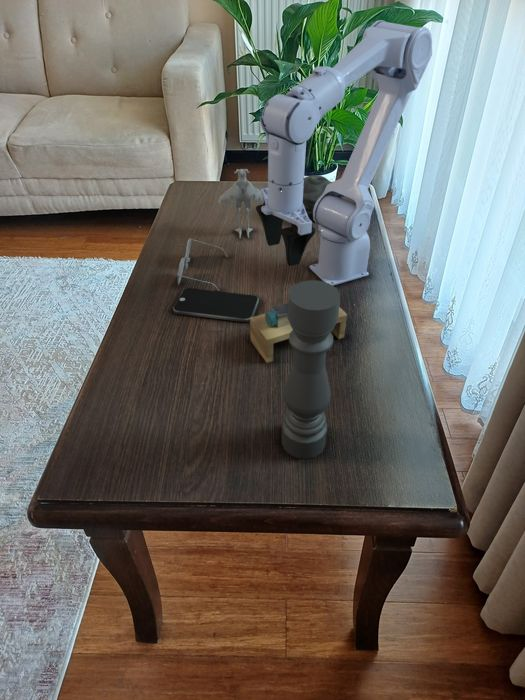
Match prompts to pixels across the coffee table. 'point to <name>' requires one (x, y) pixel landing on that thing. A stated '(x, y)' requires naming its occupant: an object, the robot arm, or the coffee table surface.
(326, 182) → the decorative stone
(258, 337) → the shelf
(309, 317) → the candle holder
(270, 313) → the grey and teal bar
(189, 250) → the sunglasses
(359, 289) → the coffee table surface
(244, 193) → the figurine
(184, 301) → the smartphone
